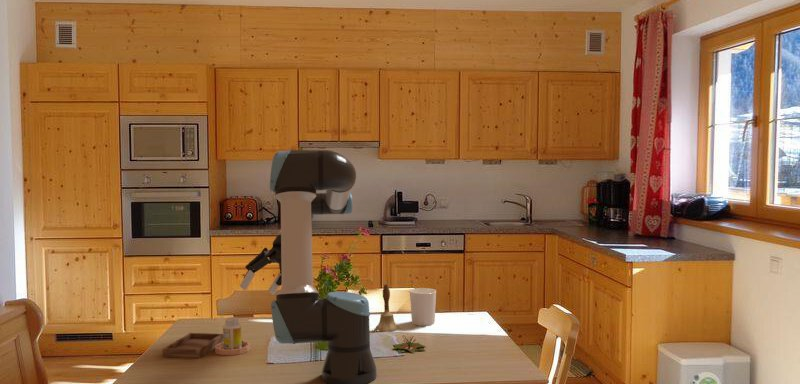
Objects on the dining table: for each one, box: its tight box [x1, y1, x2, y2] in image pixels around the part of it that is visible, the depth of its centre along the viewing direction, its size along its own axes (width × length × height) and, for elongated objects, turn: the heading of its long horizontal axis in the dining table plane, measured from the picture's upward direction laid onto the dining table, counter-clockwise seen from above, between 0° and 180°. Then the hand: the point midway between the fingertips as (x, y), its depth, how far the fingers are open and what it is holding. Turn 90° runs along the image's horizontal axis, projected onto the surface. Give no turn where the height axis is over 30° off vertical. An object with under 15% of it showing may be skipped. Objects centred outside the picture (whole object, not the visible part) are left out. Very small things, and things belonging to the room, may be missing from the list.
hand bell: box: [375, 284, 400, 333], centre depth 222 cm, size 8×8×16 cm
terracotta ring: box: [214, 339, 251, 356], centre depth 199 cm, size 11×11×2 cm
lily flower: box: [390, 334, 427, 354], centre depth 199 cm, size 12×12×5 cm
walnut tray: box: [162, 332, 224, 359], centre depth 201 cm, size 18×12×2 cm, turn 171°
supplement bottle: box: [222, 316, 243, 350], centre depth 199 cm, size 6×6×10 cm
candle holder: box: [409, 287, 437, 327], centre depth 229 cm, size 10×10×12 cm
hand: (256, 290), depth 208 cm, fingers open, 13 cm apart
